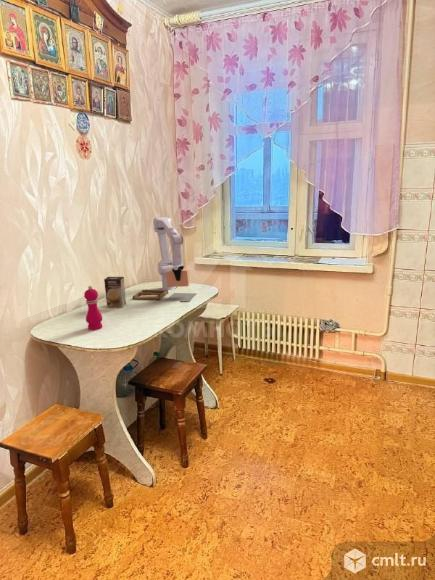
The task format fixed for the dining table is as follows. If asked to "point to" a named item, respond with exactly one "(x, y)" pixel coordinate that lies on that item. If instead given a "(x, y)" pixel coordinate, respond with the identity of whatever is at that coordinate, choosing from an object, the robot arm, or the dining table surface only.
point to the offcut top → (148, 296)
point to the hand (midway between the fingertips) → (178, 279)
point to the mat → (181, 297)
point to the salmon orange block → (172, 280)
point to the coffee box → (115, 292)
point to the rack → (151, 292)
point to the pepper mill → (92, 309)
